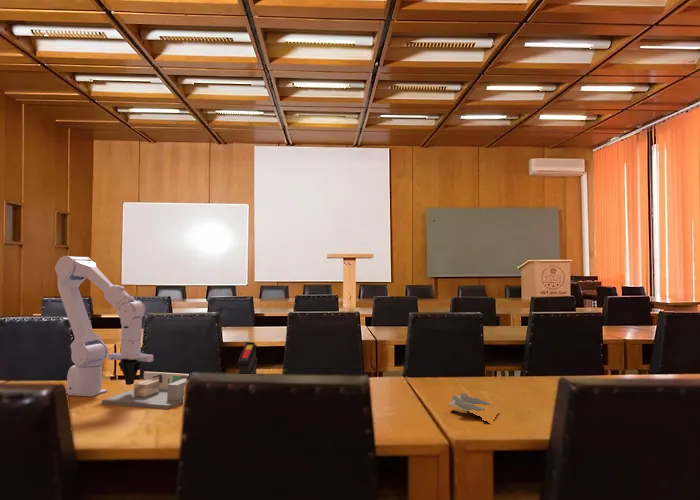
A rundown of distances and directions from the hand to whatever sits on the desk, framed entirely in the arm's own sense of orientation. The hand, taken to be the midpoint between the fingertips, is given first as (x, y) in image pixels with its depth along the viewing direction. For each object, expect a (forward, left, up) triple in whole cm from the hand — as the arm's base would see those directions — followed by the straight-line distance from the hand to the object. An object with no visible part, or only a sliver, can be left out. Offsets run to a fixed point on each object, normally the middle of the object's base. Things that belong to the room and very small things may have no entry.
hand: (129, 384), depth 158 cm
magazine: (+30, +20, -4) cm, 37 cm away
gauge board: (+9, 0, -4) cm, 9 cm away
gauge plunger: (+6, +2, -3) cm, 7 cm away
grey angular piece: (+104, +7, -4) cm, 104 cm away
